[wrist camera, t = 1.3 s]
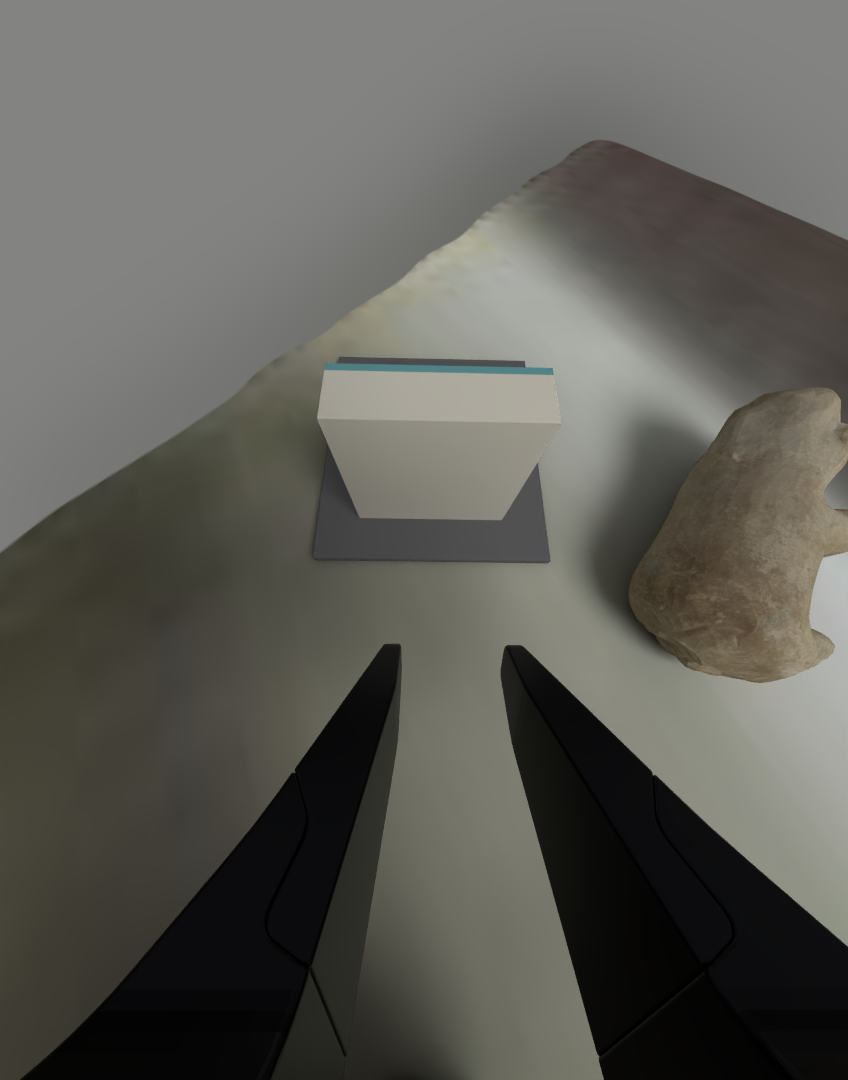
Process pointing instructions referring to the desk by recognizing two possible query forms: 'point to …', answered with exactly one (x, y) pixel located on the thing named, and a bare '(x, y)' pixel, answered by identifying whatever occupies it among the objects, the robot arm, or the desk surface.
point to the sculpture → (749, 542)
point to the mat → (429, 538)
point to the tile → (436, 436)
